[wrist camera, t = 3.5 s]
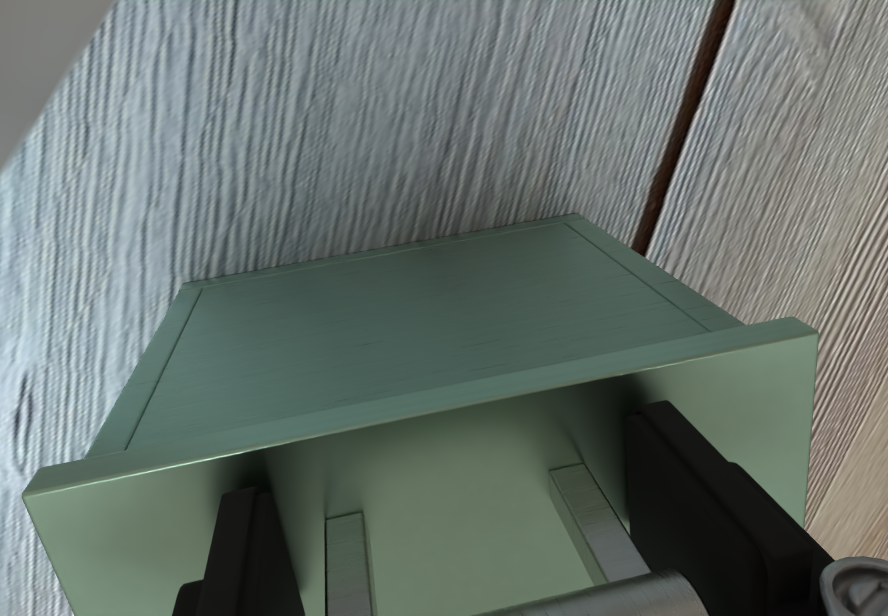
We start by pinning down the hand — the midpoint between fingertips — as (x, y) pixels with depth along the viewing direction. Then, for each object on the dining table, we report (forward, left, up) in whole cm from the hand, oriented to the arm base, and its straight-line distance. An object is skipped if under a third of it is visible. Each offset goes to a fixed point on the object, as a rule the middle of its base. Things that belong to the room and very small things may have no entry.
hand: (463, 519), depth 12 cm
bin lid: (+4, -4, -1) cm, 6 cm away
